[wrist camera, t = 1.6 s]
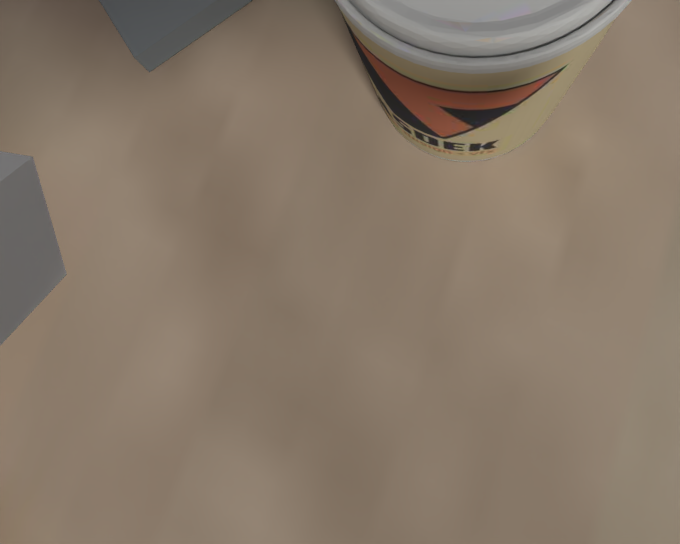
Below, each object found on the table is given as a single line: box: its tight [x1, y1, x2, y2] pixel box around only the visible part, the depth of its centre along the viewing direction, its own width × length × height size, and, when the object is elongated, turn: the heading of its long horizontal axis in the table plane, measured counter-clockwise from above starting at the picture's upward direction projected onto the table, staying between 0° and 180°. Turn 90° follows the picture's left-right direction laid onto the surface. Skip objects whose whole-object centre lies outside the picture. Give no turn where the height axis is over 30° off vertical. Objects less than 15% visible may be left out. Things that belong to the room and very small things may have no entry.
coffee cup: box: [335, 0, 632, 162], centre depth 22 cm, size 9×9×12 cm
